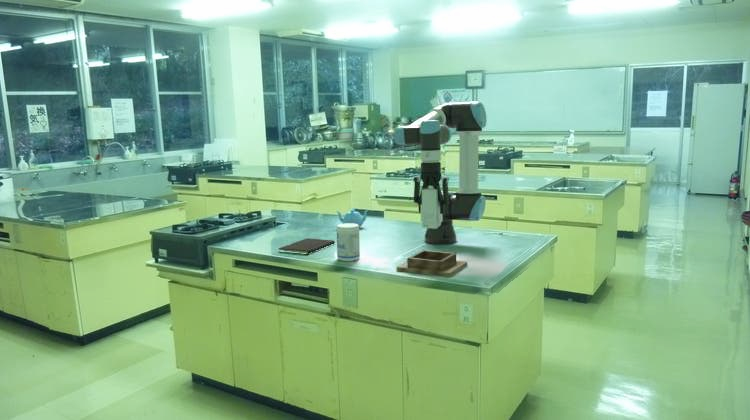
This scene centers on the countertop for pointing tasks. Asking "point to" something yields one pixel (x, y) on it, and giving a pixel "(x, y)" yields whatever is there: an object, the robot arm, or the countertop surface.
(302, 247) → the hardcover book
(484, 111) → the robot arm
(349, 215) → the teapot
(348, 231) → the supplement tub
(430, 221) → the skincare box
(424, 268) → the bottle stand
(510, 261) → the countertop surface
